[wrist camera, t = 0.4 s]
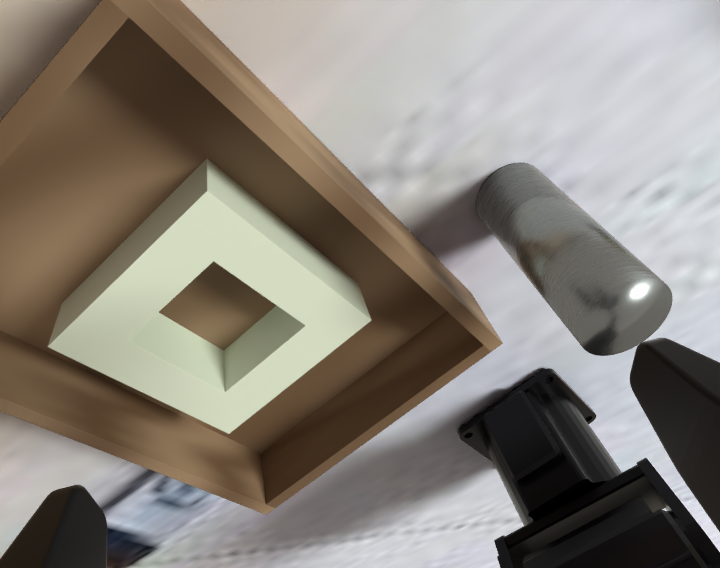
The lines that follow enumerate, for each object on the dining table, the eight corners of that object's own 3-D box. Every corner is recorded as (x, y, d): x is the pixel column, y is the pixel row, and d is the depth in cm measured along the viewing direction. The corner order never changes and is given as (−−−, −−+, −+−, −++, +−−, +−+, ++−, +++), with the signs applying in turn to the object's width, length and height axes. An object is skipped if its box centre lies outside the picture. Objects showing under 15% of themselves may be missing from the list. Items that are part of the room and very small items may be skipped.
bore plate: (357, 283, 23) (371, 320, 21) (227, 391, 25) (228, 433, 23) (207, 158, 18) (207, 190, 16) (61, 303, 20) (47, 346, 18)
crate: (471, 292, 25) (502, 343, 23) (260, 454, 29) (266, 514, 26) (137, -43, 15) (123, -24, 12) (-126, 271, 19) (-182, 340, 16)
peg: (555, 194, 23) (684, 313, 17) (498, 239, 24) (601, 369, 18) (523, 147, 22) (653, 260, 15) (463, 198, 22) (563, 324, 16)
